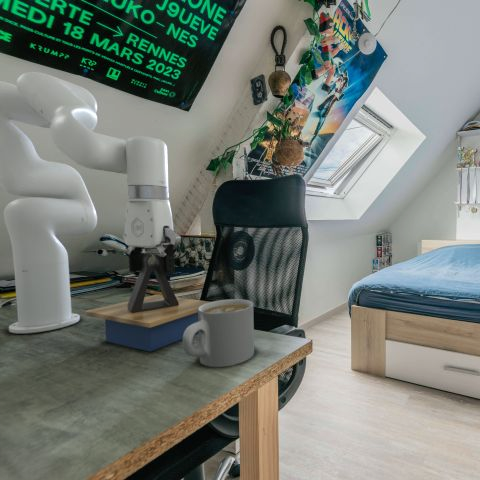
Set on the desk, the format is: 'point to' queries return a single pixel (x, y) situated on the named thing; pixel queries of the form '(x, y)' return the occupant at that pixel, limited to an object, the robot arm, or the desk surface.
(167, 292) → the phone stand
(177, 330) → the blue box
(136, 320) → the oak board
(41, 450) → the desk surface
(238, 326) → the coffee mug
